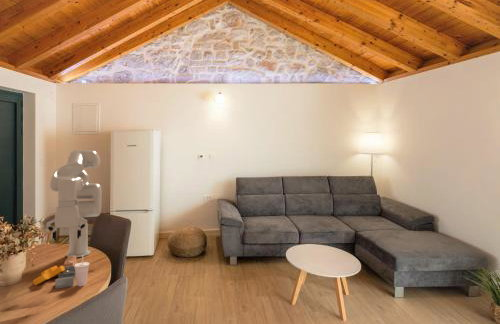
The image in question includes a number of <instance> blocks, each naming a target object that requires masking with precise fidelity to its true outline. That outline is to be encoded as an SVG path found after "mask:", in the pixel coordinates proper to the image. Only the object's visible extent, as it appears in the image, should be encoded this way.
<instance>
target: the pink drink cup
mask: <svg viewBox="0 0 500 324" xmlns="http://www.w3.org/2000/svg"><path fill="white" fill-rule="evenodd" d="M89 267H90V262H88V261H84V256H83V255H82V257H81V262H76V264H75V265H74V268H75V272H76V275H75V279H76V286H77V287H83V286H87V283H88V282H87V281H88V275H89Z"/></svg>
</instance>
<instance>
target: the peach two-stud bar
mask: <svg viewBox="0 0 500 324" xmlns="http://www.w3.org/2000/svg"><path fill="white" fill-rule="evenodd" d="M75 264H77V257H76V256H68V257H67V258H66V259H65V261H64V262H63V266H64V267H68V266H74V265H75Z"/></svg>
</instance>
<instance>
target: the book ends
mask: <svg viewBox="0 0 500 324" xmlns="http://www.w3.org/2000/svg"><path fill="white" fill-rule="evenodd" d="M64 268H65V270H64V271H62V272H60V273H59V274H58V275H57V276H58V278H56V279H55V280H54V281H55V283H54V287H55V289H64V288H70V287H74V285H75V279H76V272H75V268H74V266H68V267H64Z"/></svg>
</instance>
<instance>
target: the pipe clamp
mask: <svg viewBox="0 0 500 324" xmlns="http://www.w3.org/2000/svg"><path fill="white" fill-rule="evenodd" d="M64 270H65V268H64V264H63V265H60V266H57V265H54V266H51V267H49V268H47V269H45V270H43V271H42V272H41V273H40V274H41V275H40V276H39V275H38V277H36V278H35V279H33V280H32V283H33V285H34V286H35V287H36V286H37V285H40V284H42V283H44V282H46V281H48V280H50V279H52V278H54V277H56V276H58V275H59V273H60V272H62V271H64Z"/></svg>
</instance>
